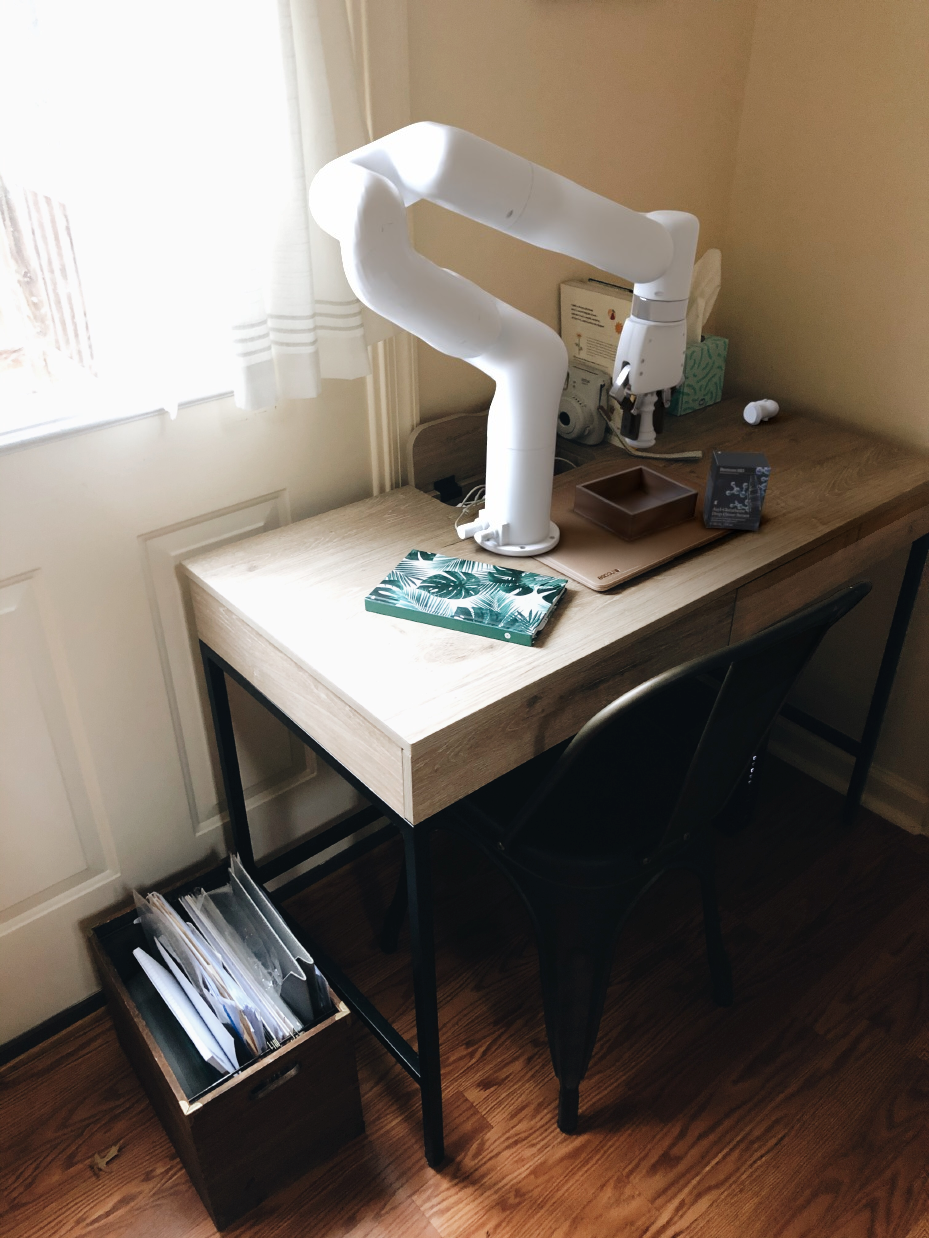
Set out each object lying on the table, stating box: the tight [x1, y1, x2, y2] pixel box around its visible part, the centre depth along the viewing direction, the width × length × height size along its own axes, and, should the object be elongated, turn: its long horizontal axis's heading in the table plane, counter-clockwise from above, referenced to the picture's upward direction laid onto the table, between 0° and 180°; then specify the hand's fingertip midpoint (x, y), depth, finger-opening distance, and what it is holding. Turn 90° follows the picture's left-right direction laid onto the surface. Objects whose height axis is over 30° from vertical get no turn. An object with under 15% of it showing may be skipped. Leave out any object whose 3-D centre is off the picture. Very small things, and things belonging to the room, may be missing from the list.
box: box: [702, 449, 772, 532], centre depth 144 cm, size 8×6×11 cm
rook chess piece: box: [624, 391, 658, 449], centre depth 140 cm, size 4×4×8 cm
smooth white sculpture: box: [743, 398, 780, 426], centre depth 183 cm, size 4×8×5 cm
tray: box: [573, 464, 699, 542], centre depth 147 cm, size 14×12×4 cm
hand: (641, 433), depth 141 cm, fingers closed on rook chess piece, 4 cm apart
